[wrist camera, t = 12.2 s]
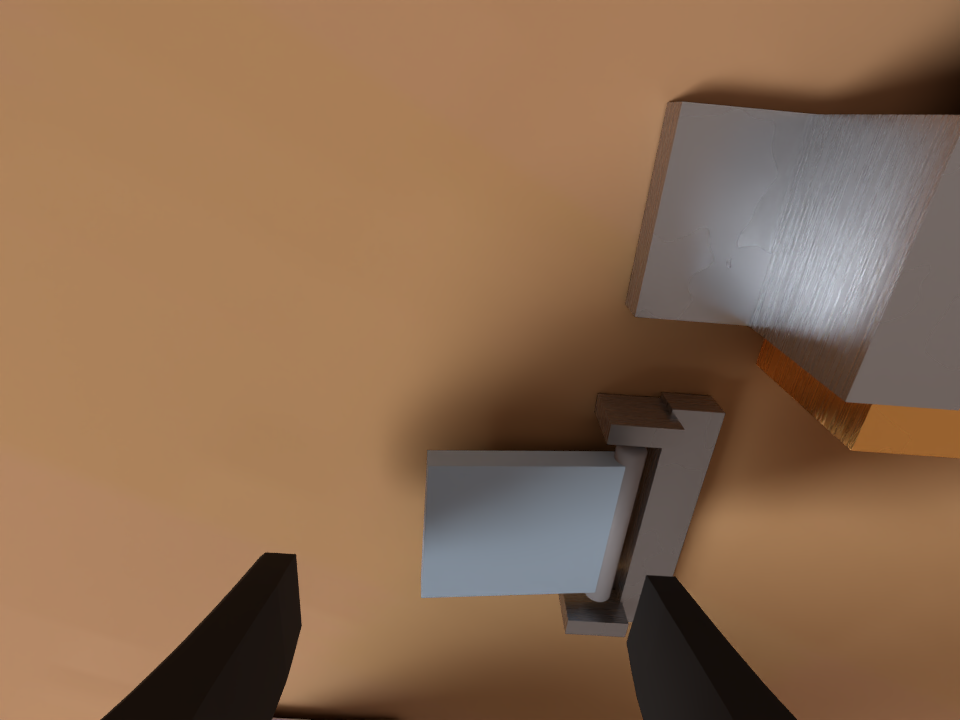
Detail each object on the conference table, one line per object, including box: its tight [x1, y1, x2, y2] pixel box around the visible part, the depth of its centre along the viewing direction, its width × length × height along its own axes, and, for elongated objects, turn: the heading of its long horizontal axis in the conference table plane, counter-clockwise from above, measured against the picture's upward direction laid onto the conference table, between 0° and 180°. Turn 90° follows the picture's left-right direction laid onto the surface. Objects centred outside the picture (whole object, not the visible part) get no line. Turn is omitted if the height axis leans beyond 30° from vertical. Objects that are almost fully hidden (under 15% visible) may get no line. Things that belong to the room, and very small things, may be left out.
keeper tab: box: [421, 445, 647, 602], centre depth 13 cm, size 5×1×5 cm
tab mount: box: [559, 392, 725, 637], centre depth 13 cm, size 7×3×1 cm, turn 175°
